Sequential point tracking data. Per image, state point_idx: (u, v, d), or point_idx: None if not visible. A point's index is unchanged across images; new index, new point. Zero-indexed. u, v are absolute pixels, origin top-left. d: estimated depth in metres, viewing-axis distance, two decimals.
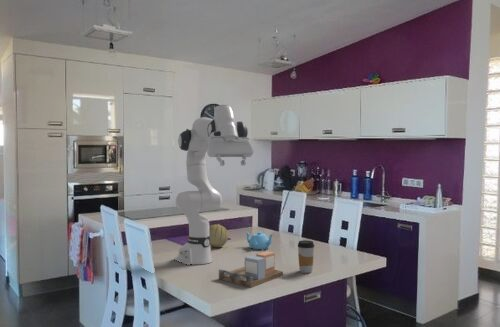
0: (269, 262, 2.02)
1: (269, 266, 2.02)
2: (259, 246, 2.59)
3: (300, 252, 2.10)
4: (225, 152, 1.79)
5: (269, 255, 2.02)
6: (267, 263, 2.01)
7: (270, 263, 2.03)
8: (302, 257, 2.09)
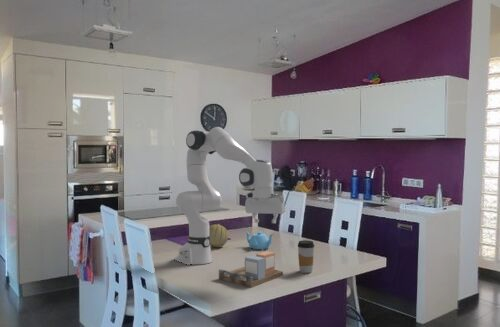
0: (269, 262, 2.02)
1: (269, 266, 2.02)
2: (259, 246, 2.59)
3: (300, 252, 2.10)
4: (257, 212, 2.01)
5: (269, 255, 2.02)
6: (267, 263, 2.01)
7: (270, 263, 2.03)
8: (302, 257, 2.09)
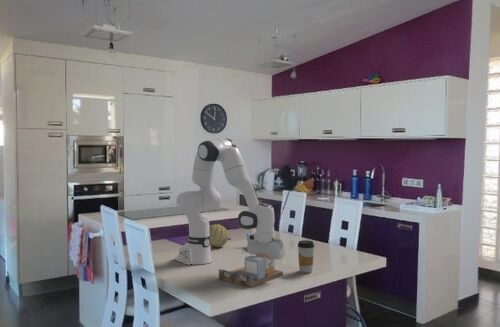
0: (269, 262, 2.02)
1: None
2: None
3: (300, 252, 2.10)
4: None
5: None
6: (267, 263, 2.01)
7: None
8: (302, 257, 2.09)
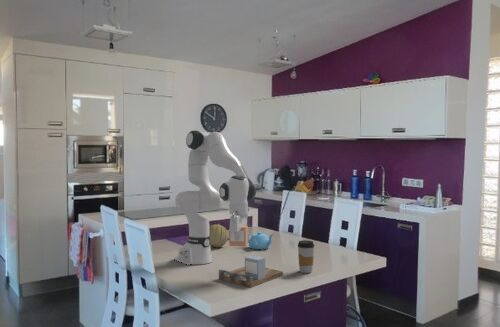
0: None
1: None
2: (259, 246, 2.59)
3: (300, 252, 2.10)
4: None
5: None
6: (232, 235, 2.00)
7: None
8: (302, 257, 2.09)
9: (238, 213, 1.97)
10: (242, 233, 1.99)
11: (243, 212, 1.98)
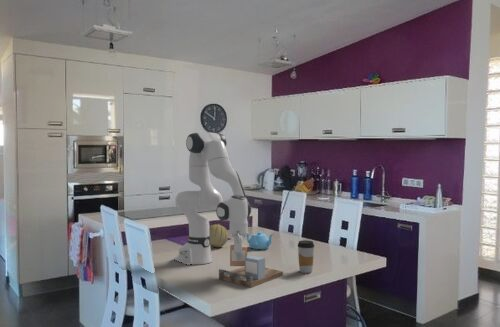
0: None
1: None
2: (259, 246, 2.59)
3: (300, 252, 2.10)
4: None
5: None
6: (234, 255, 1.99)
7: None
8: (302, 257, 2.09)
9: (240, 233, 1.97)
10: (243, 253, 1.99)
11: (245, 232, 1.98)
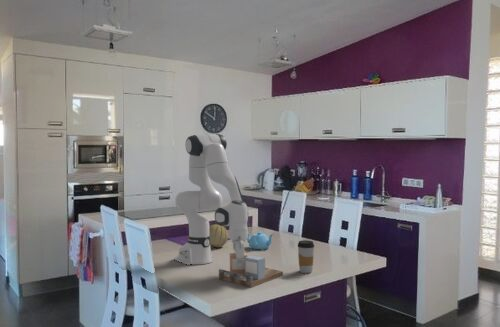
0: None
1: (238, 268, 1.99)
2: (259, 246, 2.59)
3: (300, 252, 2.10)
4: (234, 251, 2.05)
5: None
6: (234, 264, 1.99)
7: None
8: (302, 257, 2.09)
9: (241, 238, 1.98)
10: (244, 261, 2.00)
11: (245, 237, 1.99)
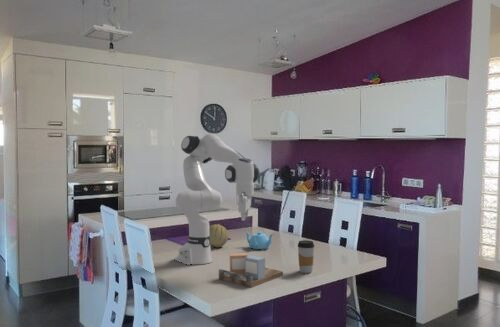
0: (237, 263, 1.99)
1: (238, 268, 1.99)
2: (259, 246, 2.59)
3: (300, 252, 2.10)
4: None
5: (238, 256, 2.00)
6: (234, 264, 1.99)
7: (239, 265, 1.99)
8: (302, 257, 2.09)
9: (245, 194, 2.06)
10: (244, 261, 2.00)
11: (250, 193, 2.07)
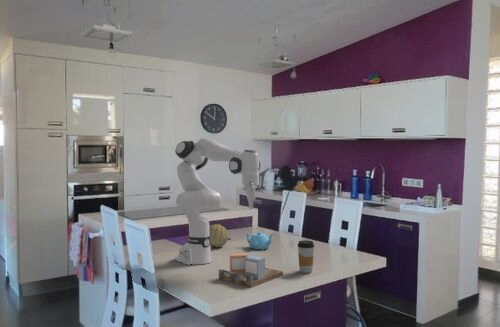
0: (237, 263, 1.99)
1: (238, 268, 1.99)
2: (259, 246, 2.59)
3: (300, 252, 2.10)
4: None
5: (238, 256, 2.00)
6: (234, 264, 1.99)
7: (239, 265, 1.99)
8: (302, 257, 2.09)
9: (253, 184, 2.14)
10: (244, 261, 2.00)
11: (257, 183, 2.15)
